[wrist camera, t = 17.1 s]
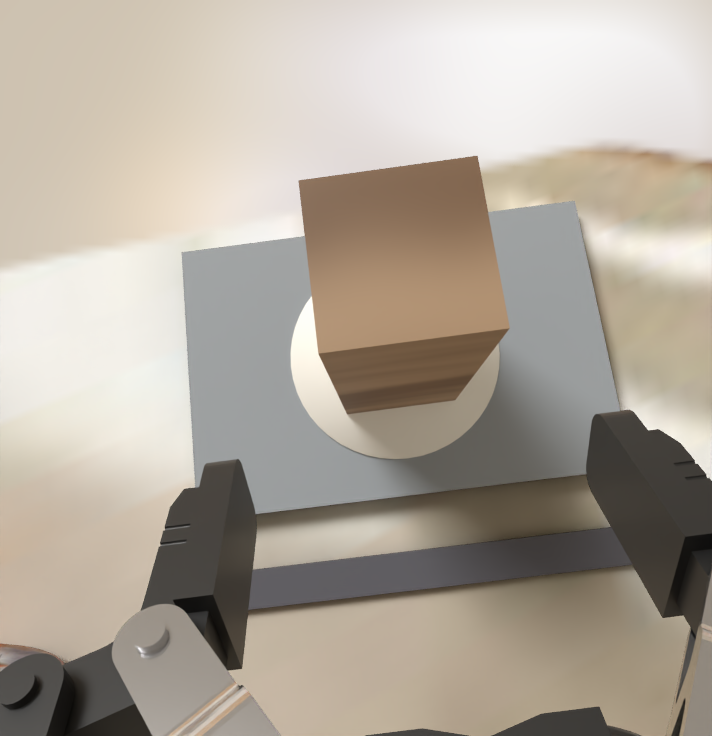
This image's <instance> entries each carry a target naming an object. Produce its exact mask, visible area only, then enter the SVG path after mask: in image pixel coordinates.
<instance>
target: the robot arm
mask: <svg viewBox="0 0 712 736" xmlns="http://www.w3.org/2000/svg"><path fill="white" fill-rule="evenodd" d="M586 474H587V480H588V484H589V487H590V489H591V492H592V494H593V495H594V497H595V499H596V501H597V503H598V504H599V506H600V508H601V510H602V511H603V513H604V515H605V517H606V518H607V520H608V522H609V524H610V526H611V527H612V529H613V531H614V533H615V534H616V536H617V538H618V540H619V541H620V543H621V545H622V547H623V549H624V550H625V552H626V554H627V556H628V557H629V559H630V561H631V563H632V565H633V566H634V568H635V570H636V572H637V573H638V575H639V577H640V579H641V580H642V582H643V584H644V586H645V588H646V589H647V591H648V593H649V595H650V596H651V598H652V600H653V602H654V603H655V605H656V607H657V609H658V611H659V612H660V614H661V616H662V618H666V617H674V616H682V615H684V617H685V619H686V620H687V622H688V624H689V625H690V631H689V634H688V637H687V642H686V647H685V651H684V656H683V661H682V665H681V670H680V675H679V679H678V684H677V689H676V693H675V698H674V703H673V707H672V712H671V716H670V720H669V724H668V728H667V732H666V735H665V736H712V481H711V480H710V478H707V477H706V474H705V472H704V471H703V470H702V469H701V467H700V466H699V465H698V464H695V460H694V459H693V458H692V457H691V455H690V454H689V453H688V452H687V451H686V449H685V448H684V447H683V446H682V445H681V443H679V442H678V441H676V440H675V439H673V438H671V437H670V436H668V435H667V434H665V433H664V432H662V431H660V430H659V429H657V430H649V431H648V430H647V429H646V427H645V426H644V425H643V423H642V422H641V421H640V420H639V418H638V417H637V416H636V414H635V413H634V412H633V411H631V410H624V411H616V412H608V413H600V414H595V415H594V417H593V419H592V423H591V431H590V438H589V446H588V454H587V461H586ZM256 532H257V524H256V514H255V508H254V504H253V501H252V497H251V494H250V490H249V487H248V484H247V480H246V477H245V473H244V470H243V466H242V464H241V461H240V460H239V459H234V460H227V461H219V462H211V463H206V464H205V466H204V468H203V473H202V477H201V481H200V485H199V487H196V488H188V489H184V490H183V491H182V493H181V494H180V495H179V497H178V498H177V499H176V500H175V502H174V503H173V504H172V506H171V507H170V510H169V514H168V517H167V521H166V524H165V531H163V535H162V538H161V542H160V544H161V546H160V547H159V549H158V552H157V556H156V560H155V563H154V567H153V570H152V574H151V577H150V581H149V584H148V588H147V591H146V595H145V599H144V602H143V605H142V608H141V611H140V612H138V613H137V614H135V615H134V616H133V617H131V618H130V619H129V620H128V621H127V622H126V623H125V624H124V625H123V627H122V628H121V629H120V631H119V632H118V634H117V635H116V638H115V640H114V642H112V643H111V644H109V645H107V646H105V647H103V648H101V649H99V650H97V651H94V652H92V653H90V654H87V655H85V656H83V657H80V658H78V659H76V660H73V661H71V662H68V663H66V664H64V665H62V663H61V662H60V661H59V660H58V659H57V658H56V657H54V656H53V655H50V654H44V653H39V654H32V655H29V656H26V657H23V658H21V659H19V660H17V661H15V662H13V663H11V664H10V665H8V666H7V667H6V668H4V669H3V670H2V671H1V672H0V736H281V735H280V734H279V732H278V731H277V730H276V728H275V727H274V725H273V724H272V723H271V721H270V720H269V719H268V717H267V716H266V714H265V713H264V712H263V710H262V709H261V708H260V706H259V705H258V703H257V702H256V701H255V699H254V698H253V697H252V695H251V694H250V693H249V691H248V690H247V689H246V688H245V687H244V686H242V685H241V686H239V685H238V684H237V683H236V682H235V680H234V679H233V678H232V676H231V675H230V673H229V672H228V670H236V669H242V664H243V655H244V645H245V636H246V627H247V617H248V608H249V599H250V589H251V580H252V571H253V561H254V552H255V543H256ZM366 736H467V735H461V734H454V733H448V732H441V731H435V730H428V729H415V730H407V731H398V732H390V733H382V734H374V735H366ZM492 736H641V735H638V734H636V733H633V732H631V731H627V730H624V729H620V728H617V727H612V726H607V724H606V722H605V720H604V717H603V715H602V712H601V710H600V707H592V708H584V709H576V710H568V711H560V712H552V713H544V714H540V715H538V716H535V717H533V718H531V719H529V720H526V721H524V722H522V723H519V724H517V725H515V726H513V727H510V728H508V729H506V730H504V731H501V732H499V733H497V734H495V735H492Z"/></svg>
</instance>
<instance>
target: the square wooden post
mask: <svg viewBox="0 0 712 736" xmlns="http://www.w3.org/2000/svg"><path fill="white" fill-rule="evenodd" d="M299 188H300V197H301V206H302V215H303V223H304V232H305V241H306V250H307V259H308V268H309V276H310V285H311V294H312V303H313V312H314V320H315V329H316V338H317V347H318V354H319V356H320V358H321V360H322V363H323V365H324V367H325V369H326V371H327V373H328V375H329V377H330V379H331V382H332V384H333V386H334V388H335V390H336V392H337V394H338V396H339V398H340V401H341V403H342V405H343V407H344V409H345V411H346V413H347V414H354V413H362V412H369V411H377V410H385V409H392V408H400V407H408V406H415V405H423V404H431V403H438V402H446V401H454V400H456V399H457V397H458V396H459V395H460V393H461V392H462V391H463V389H464V388H465V387H466V385H467V384H468V383H469V381H470V380H471V379H472V377H473V376H474V375H475V374H476V372H477V371H478V370H479V368H480V367H481V366H482V364H483V363H484V362H485V360H486V359H487V358H488V356H489V355H490V354H491V352H492V351H493V350H494V349H495V347H496V346H497V345H498V343H499V342H500V341H501V339H502V338H503V337H504V335H505V334H506V333H507V331H508V330H509V329H510V326H509V321H508V316H507V311H506V305H505V300H504V295H503V289H502V284H501V279H500V273H499V268H498V263H497V257H496V252H495V247H494V241H493V236H492V231H491V225H490V220H489V215H488V210H487V204H486V199H485V194H484V188H483V183H482V178H481V172H480V167H479V162H478V157H477V156H473V157H465V158H458V159H451V160H444V161H437V162H429V163H422V164H415V165H408V166H400V167H393V168H386V169H379V170H371V171H364V172H357V173H350V174H343V175H335V176H328V177H321V178H314V179H306V180H300V181H299Z"/></svg>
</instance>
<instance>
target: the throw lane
mask: <svg viewBox="0 0 712 736" xmlns="http://www.w3.org/2000/svg"><path fill="white" fill-rule="evenodd" d="M488 215H489V220H490V225H491V231H492V236H493V241H494V247H495V252H496V257H497V263H498V268H499V273H500V279H501V284H502V289H503V295H504V300H505V305H506V311H507V316H508V321H509V326H510V329H509V330H508V331H507V333H506V334H505V335H504V337H503V338H502V339H501V341H500V342H499V343H498V345H497V346H496V347H495V349H494V350H493V351H492V352H491V354H490V355H489V356H488V358H487V359H486V360H485V362H484V363H483V364H482V366H481V367H480V368H479V370H478V371H477V372H476V374H475V375H474V376H473V377H472V379H471V380H470V381H469V383H468V384H467V385H466V387H465V388H464V389H463V391H462V392H461V393H460V395H459V396H458V397H457V399H456V400H454V401H446V402H438V403H431V404H423V405H415V406H408V407H400V408H392V409H385V410H377V411H369V412H362V413H354V414H347V413H346V411H345V409H344V407H343V405H342V403H341V401H340V398H339V396H338V394H337V392H336V390H335V388H334V386H333V384H332V382H331V379H330V377H329V375H328V373H327V371H326V369H325V367H324V365H323V363H322V360H321V358H320V356H319V354H318V347H317V338H316V329H315V320H314V312H313V303H312V294H311V285H310V276H309V268H308V259H307V250H306V241H305V236H303V237H295V238H288V239H280V240H273V241H265V242H257V243H250V244H242V245H234V246H227V247H219V248H212V249H204V250H196V251H189V252H182V265H183V283H184V300H185V317H186V334H187V352H188V369H189V386H190V403H191V421H192V438H193V455H194V472H195V488H196V487H199V485H200V481H201V477H202V473H203V468H204V466H205V464H206V463H211V462H219V461H227V460H234V459H239V460H240V461H241V464H242V466H243V470H244V473H245V477H246V480H247V484H248V487H249V490H250V494H251V497H252V501H253V504H254V508H255V514H260V513H269V512H277V511H285V510H293V509H302V508H310V507H318V506H327V505H335V504H343V503H351V502H360V501H368V500H376V499H384V498H393V497H401V496H409V495H417V494H426V493H434V492H442V491H450V490H459V489H467V488H475V487H483V486H492V485H500V484H508V483H517V482H525V481H533V480H541V479H550V478H558V477H566V476H574V475H583V474H586V461H587V454H588V446H589V438H590V431H591V423H592V419H593V417H594V415H595V414H600V413H608V412H616V411H620V407H619V402H618V398H617V393H616V389H615V384H614V379H613V375H612V370H611V366H610V361H609V356H608V352H607V347H606V343H605V338H604V333H603V329H602V324H601V320H600V315H599V310H598V306H597V301H596V297H595V292H594V287H593V283H592V278H591V274H590V269H589V264H588V260H587V255H586V251H585V246H584V241H583V237H582V232H581V228H580V223H579V218H578V214H577V209H576V205H575V201H570V202H562V203H555V204H547V205H539V206H532V207H524V208H516V209H509V210H501V211H494V212H488ZM625 565H632V563H631V561H630V559H629V557H628V556H627V554H626V552H625V550H624V549H623V547H622V545H621V543H620V541H619V540H618V538H617V536H616V534H615V533H614V531H613V529H612V527H608V528H600V529H591V530H583V531H575V532H566V533H558V534H549V535H541V536H533V537H524V538H516V539H507V540H499V541H491V542H482V543H474V544H465V545H457V546H449V547H440V548H432V549H423V550H415V551H407V552H398V553H390V554H381V555H373V556H364V557H356V558H348V559H339V560H331V561H322V562H314V563H306V564H297V565H289V566H280V567H272V568H264V569H255V570H253V571H252V580H251V589H250V599H249V608H248V610H251V609H259V608H268V607H276V606H285V605H293V604H302V603H310V602H319V601H327V600H336V599H344V598H353V597H361V596H370V595H378V594H387V593H395V592H404V591H412V590H421V589H429V588H438V587H446V586H455V585H463V584H472V583H480V582H489V581H497V580H506V579H514V578H523V577H532V576H540V575H549V574H557V573H566V572H574V571H583V570H591V569H600V568H608V567H617V566H625Z"/></svg>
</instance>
